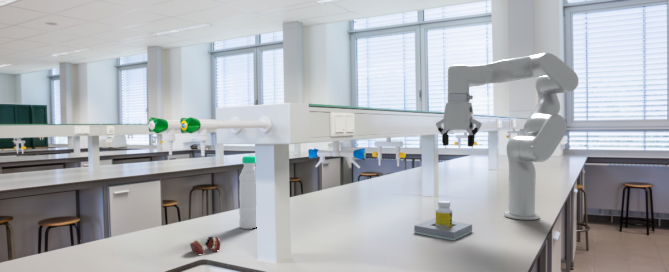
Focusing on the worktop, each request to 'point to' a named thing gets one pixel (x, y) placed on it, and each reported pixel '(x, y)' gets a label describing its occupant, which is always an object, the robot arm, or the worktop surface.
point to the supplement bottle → (443, 215)
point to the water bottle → (247, 194)
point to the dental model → (210, 243)
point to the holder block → (443, 230)
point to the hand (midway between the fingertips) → (457, 145)
